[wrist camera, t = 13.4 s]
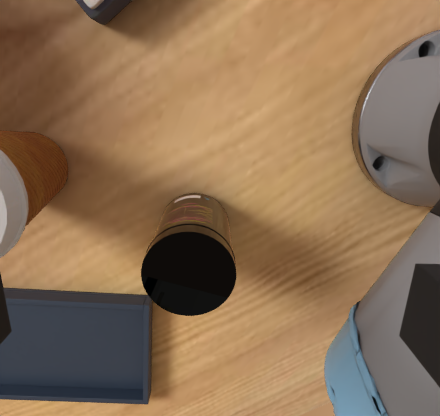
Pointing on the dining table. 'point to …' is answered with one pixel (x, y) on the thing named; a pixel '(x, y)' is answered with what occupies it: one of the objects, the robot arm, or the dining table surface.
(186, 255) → the supplement container
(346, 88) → the dining table surface
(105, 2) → the calculator
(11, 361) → the tray
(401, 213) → the dining table surface
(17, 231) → the disposable coffee cup
